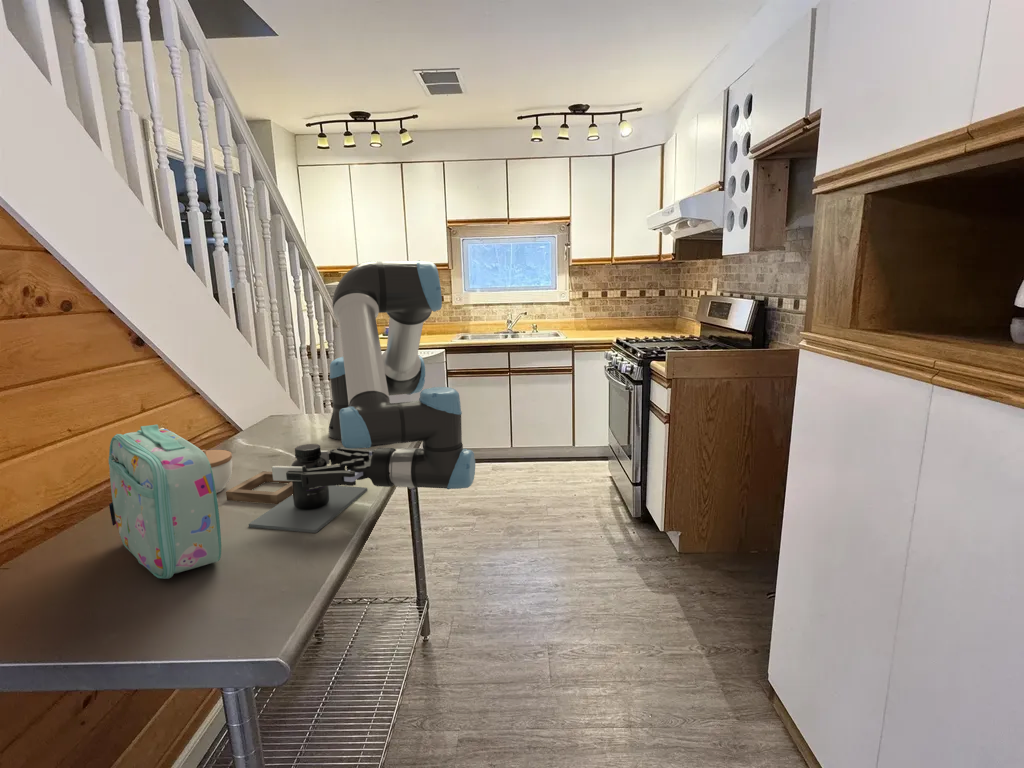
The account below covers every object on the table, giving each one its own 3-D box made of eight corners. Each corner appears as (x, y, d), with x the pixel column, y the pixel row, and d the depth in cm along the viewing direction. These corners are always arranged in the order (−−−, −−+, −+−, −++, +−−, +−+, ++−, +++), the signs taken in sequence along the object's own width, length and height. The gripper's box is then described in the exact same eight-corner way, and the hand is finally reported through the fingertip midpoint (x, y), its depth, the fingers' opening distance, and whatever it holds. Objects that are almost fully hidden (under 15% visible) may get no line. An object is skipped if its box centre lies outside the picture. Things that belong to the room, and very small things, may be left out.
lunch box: (110, 541, 95) (89, 426, 91) (174, 521, 103) (157, 413, 99) (162, 596, 79) (139, 457, 74) (234, 566, 86) (217, 439, 82)
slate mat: (309, 486, 119) (309, 483, 119) (367, 490, 116) (367, 487, 116) (248, 526, 100) (248, 523, 100) (316, 533, 97) (315, 529, 97)
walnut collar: (264, 479, 124) (263, 471, 123) (310, 482, 121) (309, 474, 121) (226, 500, 112) (225, 491, 112) (277, 504, 110) (276, 495, 109)
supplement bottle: (318, 512, 104) (312, 452, 102) (286, 509, 105) (280, 451, 103) (336, 498, 111) (331, 442, 108) (306, 496, 112) (301, 441, 110)
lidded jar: (173, 491, 117) (167, 451, 116) (225, 478, 125) (220, 439, 123) (189, 505, 110) (183, 462, 108) (243, 489, 118) (238, 449, 116)
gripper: (376, 508, 94) (257, 504, 97) (413, 466, 115) (314, 463, 118) (373, 468, 93) (252, 465, 96) (411, 432, 114) (311, 431, 117)
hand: (286, 464), depth 107 cm, fingers open, 9 cm apart
